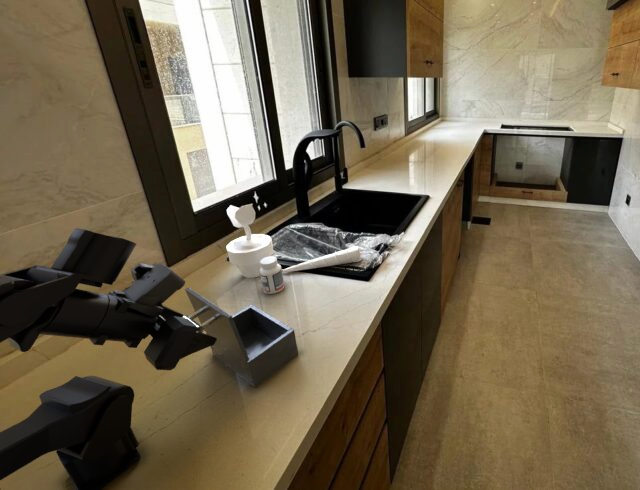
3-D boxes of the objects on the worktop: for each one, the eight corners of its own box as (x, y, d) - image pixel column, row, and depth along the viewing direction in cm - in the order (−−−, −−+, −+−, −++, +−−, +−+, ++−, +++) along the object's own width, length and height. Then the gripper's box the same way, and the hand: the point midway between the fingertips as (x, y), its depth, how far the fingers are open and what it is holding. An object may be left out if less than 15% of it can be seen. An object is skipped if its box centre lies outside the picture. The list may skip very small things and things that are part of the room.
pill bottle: (285, 281, 91) (280, 253, 88) (284, 292, 87) (278, 263, 84) (264, 284, 90) (258, 256, 87) (262, 296, 85) (256, 266, 82)
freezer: (256, 326, 75) (251, 304, 72) (298, 353, 68) (294, 329, 65) (213, 354, 67) (205, 330, 65) (254, 388, 60) (248, 362, 58)
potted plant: (284, 271, 96) (270, 191, 87) (242, 289, 88) (222, 202, 79) (265, 256, 104) (250, 181, 95) (225, 271, 96) (205, 191, 87)
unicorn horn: (280, 266, 98) (278, 252, 97) (360, 256, 105) (359, 243, 103) (278, 275, 94) (276, 261, 92) (361, 263, 100) (360, 250, 99)
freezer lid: (188, 287, 60) (160, 302, 57) (231, 316, 53) (203, 335, 50) (206, 328, 65) (182, 344, 62) (249, 359, 58) (224, 380, 54)
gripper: (161, 281, 42) (257, 304, 54) (108, 243, 51) (201, 271, 64) (102, 370, 38) (219, 373, 51) (57, 312, 48) (166, 327, 60)
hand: (201, 330), depth 57 cm, fingers open, 9 cm apart
